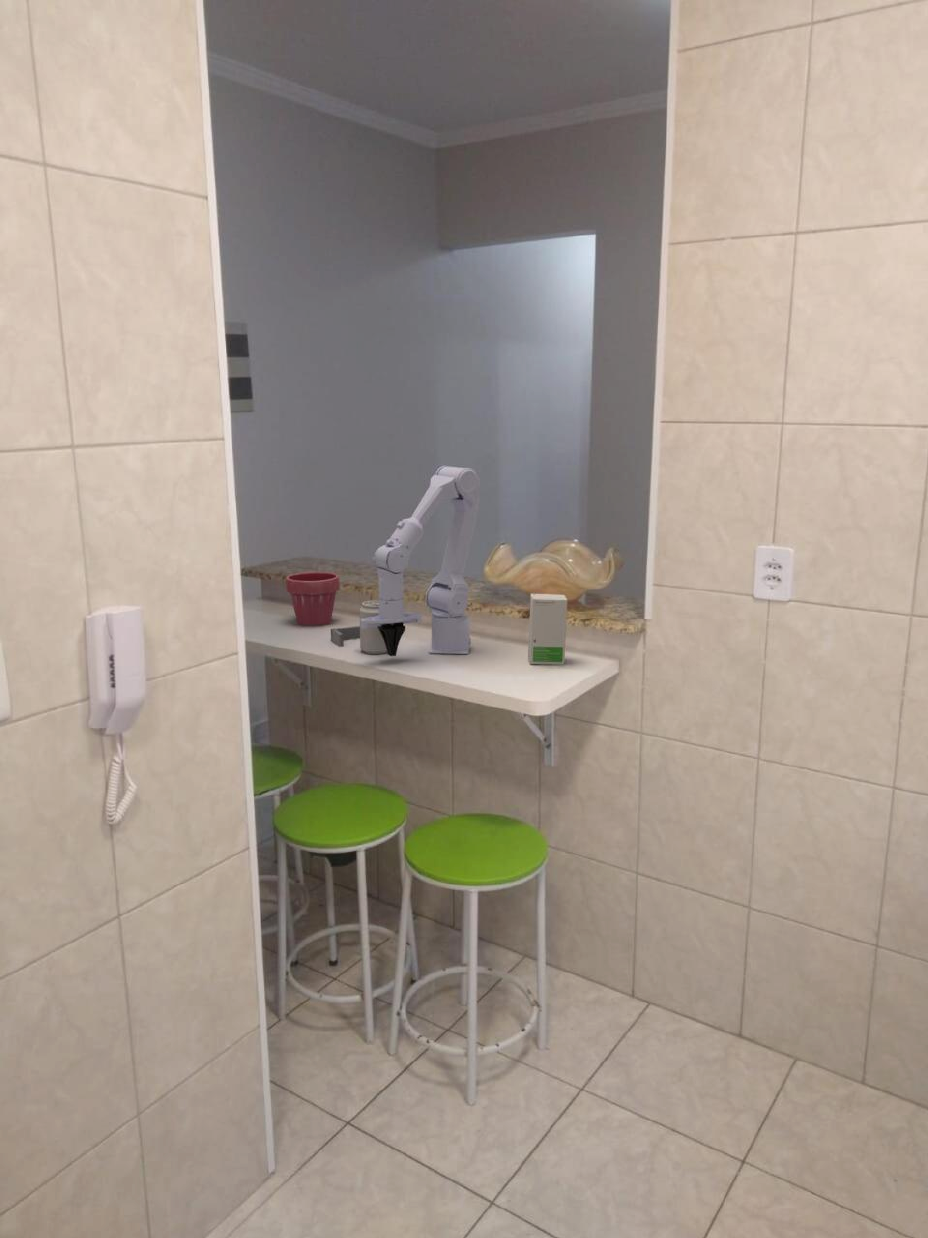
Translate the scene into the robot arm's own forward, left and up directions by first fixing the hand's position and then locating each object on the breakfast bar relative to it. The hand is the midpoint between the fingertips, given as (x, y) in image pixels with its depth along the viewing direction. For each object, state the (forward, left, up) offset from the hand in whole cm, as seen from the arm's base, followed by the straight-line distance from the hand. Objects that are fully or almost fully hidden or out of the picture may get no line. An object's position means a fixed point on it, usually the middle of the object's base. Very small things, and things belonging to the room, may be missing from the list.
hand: (391, 655), depth 220 cm
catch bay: (+10, -18, -1) cm, 21 cm away
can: (+5, -9, -2) cm, 10 cm away
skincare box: (-36, -3, -2) cm, 36 cm away
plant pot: (+26, -37, -2) cm, 45 cm away
